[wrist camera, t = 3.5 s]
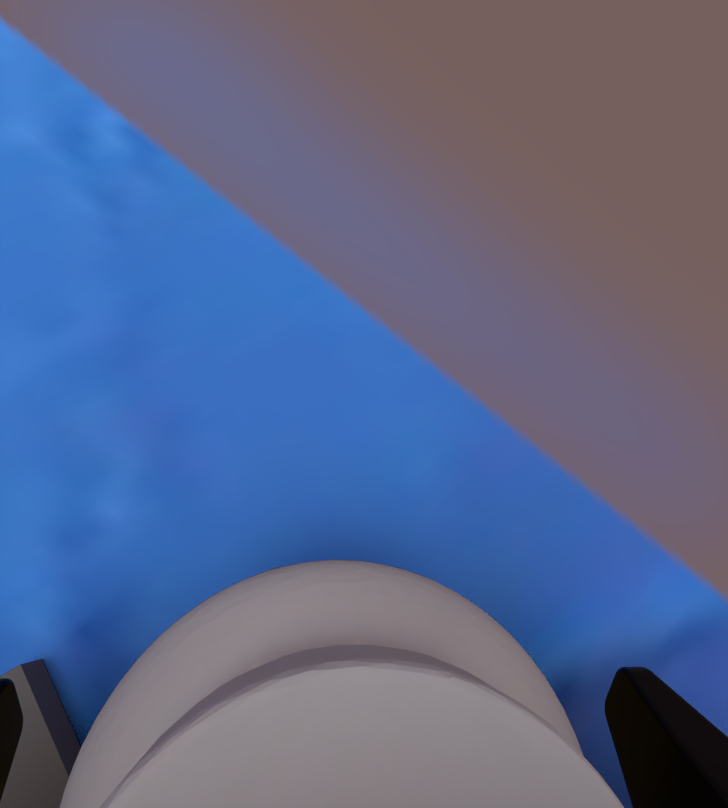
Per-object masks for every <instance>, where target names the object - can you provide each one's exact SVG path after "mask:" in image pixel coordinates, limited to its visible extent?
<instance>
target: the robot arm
mask: <svg viewBox="0 0 728 808" xmlns="http://www.w3.org/2000/svg"><path fill="white" fill-rule="evenodd" d="M605 715H606V719H607V722H608V726H609V729H610V732H611V736H612V739H613V742H614V746H615V749H616V753H617V756H618V759H619V763H620V766H621V769H622V773H623V776H624V779H625V783H626V786H627V789H628V793H629V796H630V799H631V803H632V806H633V808H728V737H727V736H726V735H725V734H724V733H722V732H721V731H720V730H719V729H718V728H717V727H715V726H714V725H713V724H712V723H711V722H710V721H708V720H707V719H706V718H705V717H704V716H703V715H701V714H700V713H699V712H698V711H697V710H696V709H694V708H693V707H692V706H691V705H690V704H689V703H687V702H686V701H685V700H684V699H683V698H682V697H681V696H679V695H678V694H677V693H676V692H675V691H674V690H672V689H671V688H670V687H669V686H668V685H667V684H665V683H664V682H663V681H662V680H661V679H660V678H658V677H657V676H656V675H655V674H654V673H653V672H651V671H650V670H648V669H647V668H644V667H621V668H620V669H618V670H617V672H616V674H615V677H614V679H613V682H612V684H611V687H610V689H609V692H608V694H607V697H606V700H605ZM22 728H23V713H22V709H21V706H20V702H19V699H18V695H17V691H16V688H15V685H14V682H13V681H12V680H10V679H8V678H0V802H1V798H2V795H3V792H4V789H5V785H6V782H7V779H8V776H9V772H10V769H11V766H12V762H13V759H14V756H15V753H16V749H17V746H18V743H19V740H20V736H21V733H22Z"/></svg>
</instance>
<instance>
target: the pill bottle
mask: <svg viewBox="0 0 728 808" xmlns="http://www.w3.org/2000/svg"><path fill="white" fill-rule="evenodd" d="M60 808H624V807H623V805H622V804H621V802H620V801H619V799H618V798H617V797H616V795H615V794H614V792H613V791H612V790H611V788H610V787H609V786H608V784H607V783H606V782H605V780H604V779H603V778H602V776H601V775H600V774H599V773H598V771H597V770H596V769H595V768H594V767H593V766H592V765H591V764H590V763H589V762H588V760H587V759H586V758H585V757H584V756H583V753H582V750H581V748H580V745H579V742H578V740H577V738H576V735H575V733H574V730H573V728H572V726H571V724H570V722H569V719H568V717H567V715H566V713H565V710H564V709H563V707H562V705H561V703H560V701H559V700H558V698H557V696H556V694H555V692H554V691H553V689H552V688H551V686H550V684H549V683H548V681H547V679H546V678H545V676H544V675H543V674H542V672H541V671H540V669H539V668H538V667H537V665H536V664H535V663H534V661H533V660H532V659H531V657H530V656H529V655H528V654H527V653H526V651H525V650H524V649H523V648H522V647H521V645H520V644H519V643H518V642H517V641H516V640H515V639H514V638H513V637H512V636H511V635H510V634H509V633H508V632H507V631H506V630H505V629H504V628H503V627H502V626H501V625H500V624H499V623H497V622H496V621H495V620H494V619H493V618H492V617H491V616H489V615H488V614H487V613H486V612H485V611H483V610H482V609H480V608H479V607H478V606H476V605H475V604H473V603H472V602H470V601H469V600H467V599H466V598H464V597H463V596H461V595H459V594H458V593H456V592H455V591H453V590H451V589H449V588H447V587H445V586H443V585H441V584H439V583H437V582H435V581H433V580H431V579H429V578H426V577H423V576H420V575H418V574H415V573H412V572H409V571H407V570H403V569H399V568H396V567H392V566H387V565H382V564H377V563H371V562H363V561H347V560H324V561H314V562H304V563H299V564H294V565H289V566H283V567H278V568H274V569H271V570H268V571H265V572H262V573H259V574H257V575H254V576H252V577H250V578H247V579H245V580H242V581H240V582H238V583H236V584H234V585H232V586H230V587H228V588H226V589H224V590H222V591H220V592H218V593H217V594H215V595H213V596H212V597H210V598H208V599H206V600H205V601H204V602H202V603H201V604H199V605H198V606H196V607H195V608H193V609H192V610H190V611H189V612H188V613H186V614H185V615H184V616H183V617H181V618H180V619H179V620H177V621H176V622H175V623H174V624H172V625H171V626H170V627H169V628H168V629H167V630H166V631H165V632H164V633H162V634H161V635H160V636H159V637H158V638H157V639H156V640H155V641H154V642H153V643H152V644H151V645H150V646H149V647H148V649H147V650H146V651H145V652H144V653H143V654H142V655H141V656H140V657H139V658H138V659H137V661H136V662H135V663H134V664H133V666H132V667H131V668H130V669H129V671H128V672H127V673H126V674H125V676H124V677H123V678H122V680H121V681H120V682H119V684H118V685H117V686H116V688H115V689H114V691H113V692H112V694H111V695H110V697H109V699H108V700H107V702H106V703H105V705H104V706H103V708H102V710H101V711H100V713H99V714H98V716H97V718H96V719H95V721H94V723H93V725H92V727H91V729H90V731H89V733H88V735H87V737H86V739H85V741H84V743H83V745H82V747H81V749H80V751H79V754H78V756H77V758H76V761H75V763H74V766H73V768H72V771H71V773H70V776H69V779H68V782H67V785H66V788H65V791H64V794H63V797H62V801H61V804H60Z"/></svg>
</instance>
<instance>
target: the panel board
mask: <svg viewBox="0 0 728 808" xmlns="http://www.w3.org/2000/svg"><path fill="white" fill-rule="evenodd" d="M0 678H8V679H10V680H12V681H13V682H14V685H15V688H16V691H17V695H18V699H19V702H20V706H21V709H22V713H23V728H22V733H21V736H20V740H19V743H18V746H17V749H16V753H15V756H14V759H13V762H12V766H11V769H10V772H9V776H8V779H7V782H6V785H5V789H4V792H3V795H2V798H1V802H0V808H60V804H61V801H62V797H63V794H64V791H65V788H66V785H67V782H68V779H69V776H70V773H71V771H72V768H73V766H74V763H75V761H76V758H77V756H78V754H79V751H80V749H81V747H80V745H79V742H78V740H77V738H76V735H75V733H74V731H73V729H72V726H71V724H70V722H69V719H68V717H67V715H66V713H65V710H64V708H63V706H62V704H61V701H60V699H59V697H58V694H57V692H56V690H55V688H54V685H53V683H52V681H51V678H50V676H49V674H48V672H47V669H46V667H45V665H44V662H43V660H42V659H40V660H37V661H33V662H29V663H25V664H21V665H19V666H17V667H16V668H14V669H12V670H10V671H9V672H7V673H5V674H3V675H2V676H0Z"/></svg>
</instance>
